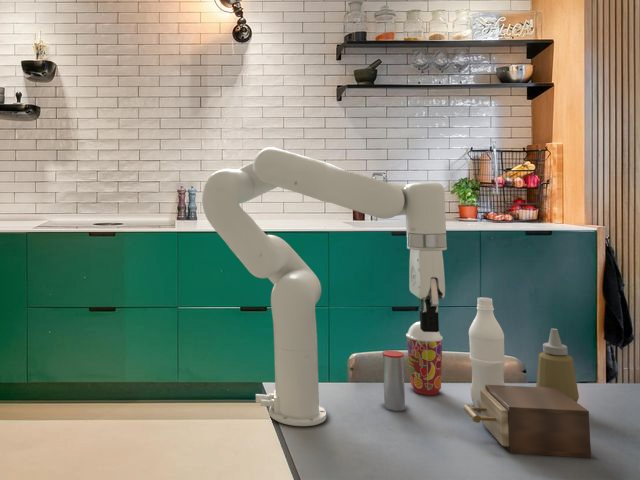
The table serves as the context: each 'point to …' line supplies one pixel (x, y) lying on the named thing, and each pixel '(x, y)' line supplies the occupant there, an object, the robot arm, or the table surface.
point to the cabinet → (544, 421)
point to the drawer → (491, 416)
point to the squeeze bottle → (557, 367)
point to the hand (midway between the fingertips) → (429, 330)
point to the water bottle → (485, 350)
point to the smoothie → (424, 359)
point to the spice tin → (394, 380)
